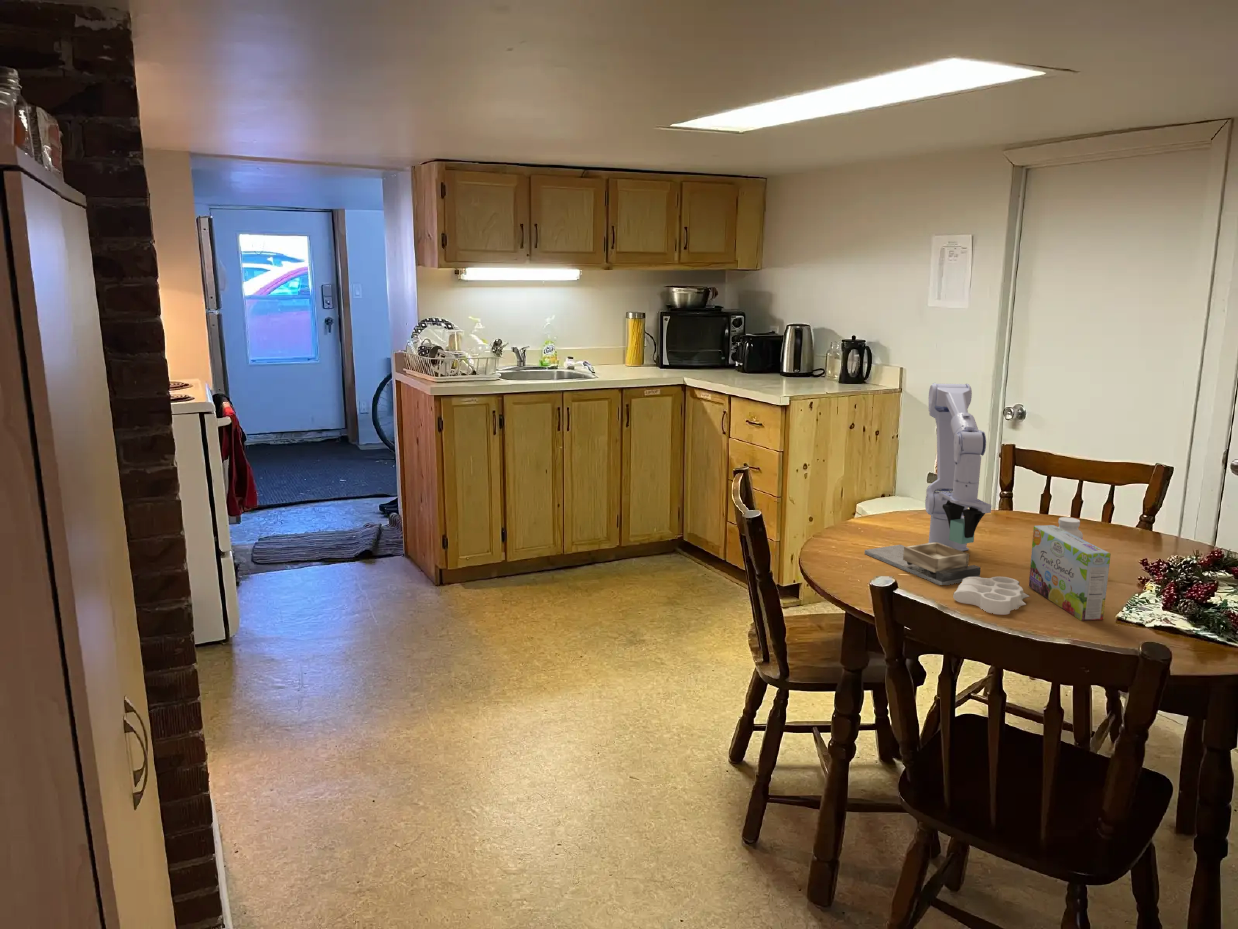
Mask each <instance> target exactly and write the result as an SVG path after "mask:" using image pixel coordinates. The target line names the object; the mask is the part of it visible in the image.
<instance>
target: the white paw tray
mask: <svg viewBox="0 0 1238 929" xmlns="http://www.w3.org/2000/svg"><path fill="white" fill-rule="evenodd" d="M952 597H953V600H955V601H956V602H958V603H960V604H967V605H974V606H977V607H979V609H980V610H982V609H983V610H984V611H983V610H982V611H983V612H985V611H986V613H989V614H992V613H993V615H1002V616H1003V615H1009V614H1011V611H1013V610H1014V609H1015V610H1019V607H1020V608H1021V606H1026V605H1027V603H1026V602H1024V601H1023V600H1024V599H1026V598H1028V597H1030V595H1029V594H1027V593H1025V592H1024V588H1023V587H1022V586H1020V581H1019V580H1017V579H1016V578H1015V579H1014V578H1012V577H1008V576H992V577H981V576H980V577H967V578H964V579H963V580H962V583H959V584H958V586H957V588H956V591H954V592H953V596H952Z"/></svg>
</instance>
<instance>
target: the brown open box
mask: <svg viewBox="0 0 1238 929" xmlns="http://www.w3.org/2000/svg"><path fill="white" fill-rule="evenodd" d="M903 560H905V561H907V564H908V565H912V564H914V565H917V566H919V567H922V568H924V569H927V570H929V571H930V574H936V571H942V570H948V569H953V568H959V567H965V566H969V561H970V553H968V552H965V551H960V550H957V549H954V548H952V547H949V546H946V545H943V544H941V543H938V542H934V543H929V542H927V544H926V543H921V544H915V545H908V546H905V547H904V553H903Z"/></svg>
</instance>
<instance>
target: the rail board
mask: <svg viewBox="0 0 1238 929" xmlns="http://www.w3.org/2000/svg"><path fill="white" fill-rule="evenodd" d="M904 547H906V546H905V545H902V544H895V545H889V546H882V547H875V548H869V549H864V555H866V556H869V557H870V558H871V557H872V558H874V559H877V560H879V561H881V562H884V563H886V564H888V565H890V566H893V567H895V568H897V569H901V570H902V571H904V572H907V573H909V572H910V574H912V575H914V576H916V575H917V576H916V577H919V578H921V579H923V578H924V580H926V579H927V580H926V581H928V582H931V583H933V584H935V585H937V586H940V585H946V586H950V584H951V585H956V583H957V584H961V583H960V582H962V580H963V579H964V578H967V577H981V570H982V569H981V566H978V565H977V564H972V565H968V566H965V567H959V568H953V569H948V570H942V571H936V574H930V571H929V570H927V569H924V568H922V567H919V566H917V565H914V564H912V565H908V564H907V561H905V560H903V553H904ZM954 583H955V584H954Z"/></svg>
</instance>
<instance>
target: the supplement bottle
mask: <svg viewBox="0 0 1238 929" xmlns="http://www.w3.org/2000/svg"><path fill="white" fill-rule="evenodd" d="M1057 523H1058V526H1057V527H1058V528H1060V529H1062V530H1064V531H1067V532H1069V533H1070V534H1072V535H1074V536H1077V537H1078V538H1080V539H1082V540H1084V538H1083V537H1084V534H1083V532H1082V531H1081V530H1079V527H1080V525H1081V520H1080V519H1078V518H1075V517H1069V516H1067V517H1066V516H1064V517H1061V516H1060V517H1059V518H1058V522H1057Z"/></svg>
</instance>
